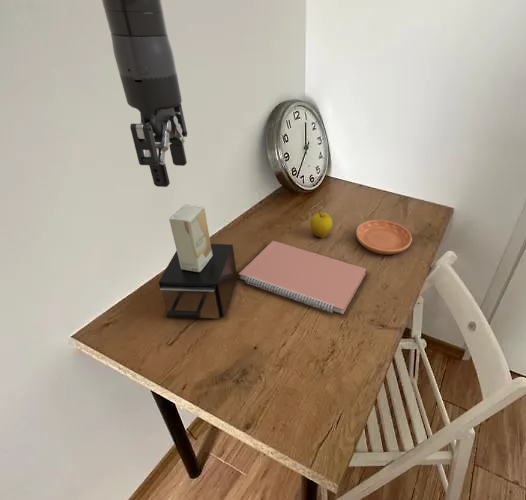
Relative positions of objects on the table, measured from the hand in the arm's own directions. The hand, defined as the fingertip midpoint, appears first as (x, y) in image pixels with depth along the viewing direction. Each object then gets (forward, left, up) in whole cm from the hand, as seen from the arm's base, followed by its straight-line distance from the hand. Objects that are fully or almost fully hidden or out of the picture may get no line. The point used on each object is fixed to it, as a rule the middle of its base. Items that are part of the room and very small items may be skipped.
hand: (171, 174), depth 61 cm
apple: (+29, -26, -31) cm, 50 cm away
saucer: (+27, -44, -31) cm, 60 cm away
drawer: (-1, 0, -30) cm, 30 cm away
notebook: (+10, -22, -31) cm, 39 cm away
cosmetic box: (+3, 0, -22) cm, 22 cm away
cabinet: (+3, 0, -31) cm, 31 cm away
